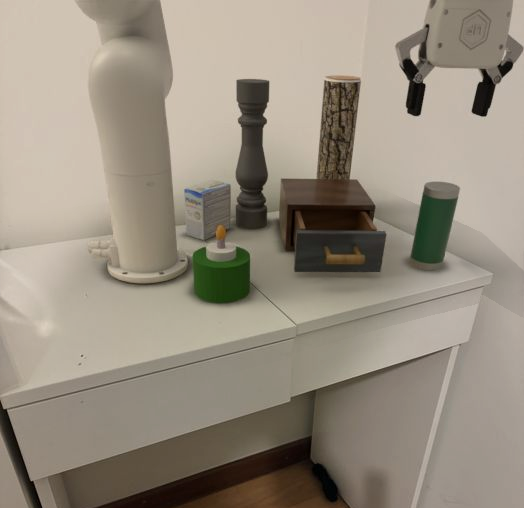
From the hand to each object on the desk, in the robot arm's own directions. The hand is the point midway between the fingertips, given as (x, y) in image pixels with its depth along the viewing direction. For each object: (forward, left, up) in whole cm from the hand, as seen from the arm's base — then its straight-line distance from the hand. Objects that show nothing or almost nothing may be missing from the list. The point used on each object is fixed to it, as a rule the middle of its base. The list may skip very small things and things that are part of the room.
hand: (446, 114), depth 72 cm
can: (+3, +3, -24) cm, 24 cm away
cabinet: (-13, +16, -24) cm, 31 cm away
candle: (-31, -7, -24) cm, 40 cm away
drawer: (-13, +2, -23) cm, 26 cm away
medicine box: (-34, +17, -24) cm, 45 cm away
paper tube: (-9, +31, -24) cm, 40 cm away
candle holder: (-26, +22, -24) cm, 42 cm away
